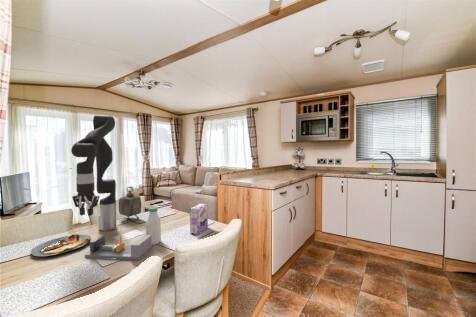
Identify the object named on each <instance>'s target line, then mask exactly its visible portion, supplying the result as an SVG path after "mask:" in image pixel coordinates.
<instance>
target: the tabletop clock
mask: <svg viewBox="0 0 476 317" xmlns="http://www.w3.org/2000/svg"><path fill="white" fill-rule="evenodd" d="M128 189H132V191H131V190H128ZM126 192H127V193H126V195H125V196H121V197H120V198H119V199H118V213H119V214H120V215H121V216H125V217H127V218H126V221H129V218H130V217H132V216H135V217H136V219H137V220H139V219H140V217H139V216H137V215H139V214H141V213H142V198H141V196H140V195H135V194H134V193H133V192H134V188H133V187H132V186H127V187H126Z"/></svg>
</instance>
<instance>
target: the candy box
mask: <svg viewBox="0 0 476 317" xmlns="http://www.w3.org/2000/svg"><path fill="white" fill-rule="evenodd" d="M208 206H209V205H208V204H207V203H199V204H197V205H195V206H193V207H192V206H191V208H190V209H189V224H190V225H189V233H193V234H192V235H196V234H198V235H200V234H201V233H202V232H204V231H205V230H206V229H208V228H209V225H208V224H209V216H208V214H209V213H208V210H209V209H208ZM203 230H204V231H203ZM200 232H201V233H200ZM199 233H200V234H199Z"/></svg>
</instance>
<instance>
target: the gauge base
mask: <svg viewBox="0 0 476 317" xmlns="http://www.w3.org/2000/svg"><path fill="white" fill-rule="evenodd" d="M111 245H117V244H116V243H115V244H112V243H111ZM152 247H153V245H152V238H151V235H146V234H144V235H142V236H141V237H140V238H138V239H137V240H136V241H134V242H133V243H131V244H125V248H123V249H122V250H121V251H119V252H116V251H115V252H113V250H97V251H95V252H90V251H89V252H87V253H86V254H84V258H86V259H100V258H116V259H115V260H117V259H121V261H135V262H138V261H141V259H143V257H145V256H146V255H148V253H149V252H150V251H152Z"/></svg>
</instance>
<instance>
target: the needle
mask: <svg viewBox="0 0 476 317" xmlns="http://www.w3.org/2000/svg"><path fill="white" fill-rule="evenodd" d="M118 238H119V241H118V242H119V243H118V244H119V245H118V244H116V245H117V246H116V252H119V251H121V250H122V249H123V248H125V245H126V244H125V243H126V242H125V241H122V234H121V233H120V234H119V235H118Z"/></svg>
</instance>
